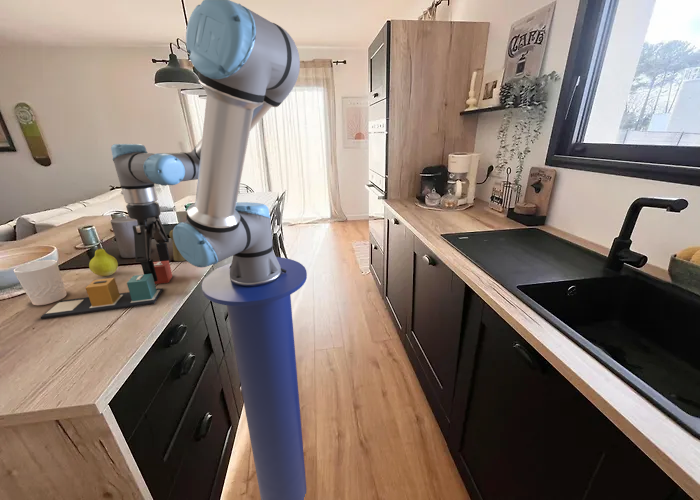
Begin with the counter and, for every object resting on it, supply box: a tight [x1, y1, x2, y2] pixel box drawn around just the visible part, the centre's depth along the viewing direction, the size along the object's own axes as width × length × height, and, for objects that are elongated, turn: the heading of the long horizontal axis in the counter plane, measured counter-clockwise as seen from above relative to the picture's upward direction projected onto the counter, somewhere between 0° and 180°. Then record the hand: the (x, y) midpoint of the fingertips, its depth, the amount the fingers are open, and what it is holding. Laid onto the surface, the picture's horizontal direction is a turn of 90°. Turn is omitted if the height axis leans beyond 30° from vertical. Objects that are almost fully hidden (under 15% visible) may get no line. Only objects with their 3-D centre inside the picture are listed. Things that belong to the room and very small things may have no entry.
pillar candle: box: [110, 215, 138, 259], centre depth 107 cm, size 10×10×15 cm
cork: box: [168, 229, 186, 262], centre depth 103 cm, size 6×6×11 cm
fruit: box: [88, 238, 119, 277], centre depth 90 cm, size 7×7×12 cm
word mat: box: [40, 287, 164, 320], centre depth 76 cm, size 24×8×1 cm, turn 107°
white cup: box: [12, 259, 68, 306], centre depth 76 cm, size 8×8×10 cm
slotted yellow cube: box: [85, 277, 121, 307], centre depth 75 cm, size 4×4×6 cm
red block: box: [153, 260, 173, 285], centre depth 88 cm, size 4×4×6 cm
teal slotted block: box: [126, 273, 157, 301], centre depth 77 cm, size 4×4×6 cm
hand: (159, 271), depth 88 cm, fingers open, 13 cm apart
